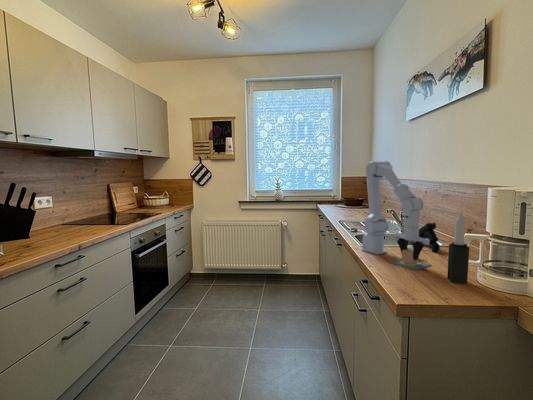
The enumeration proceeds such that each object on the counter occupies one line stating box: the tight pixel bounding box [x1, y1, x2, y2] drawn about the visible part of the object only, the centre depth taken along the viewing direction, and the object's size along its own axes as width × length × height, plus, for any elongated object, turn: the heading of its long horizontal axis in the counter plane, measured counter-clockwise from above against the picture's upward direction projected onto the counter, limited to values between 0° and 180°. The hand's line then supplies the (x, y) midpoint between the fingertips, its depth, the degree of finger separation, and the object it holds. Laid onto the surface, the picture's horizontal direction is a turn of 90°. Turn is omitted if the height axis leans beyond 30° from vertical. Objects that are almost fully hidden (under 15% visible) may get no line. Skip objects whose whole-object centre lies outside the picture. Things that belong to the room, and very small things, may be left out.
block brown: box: [401, 249, 420, 264], centre depth 119 cm, size 4×4×5 cm
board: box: [388, 257, 432, 271], centre depth 120 cm, size 12×11×1 cm
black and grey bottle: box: [446, 211, 470, 285], centre depth 99 cm, size 5×5×25 cm
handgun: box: [419, 222, 440, 253], centre depth 147 cm, size 5×23×15 cm, turn 174°
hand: (410, 258), depth 119 cm, fingers closed on block brown, 4 cm apart
